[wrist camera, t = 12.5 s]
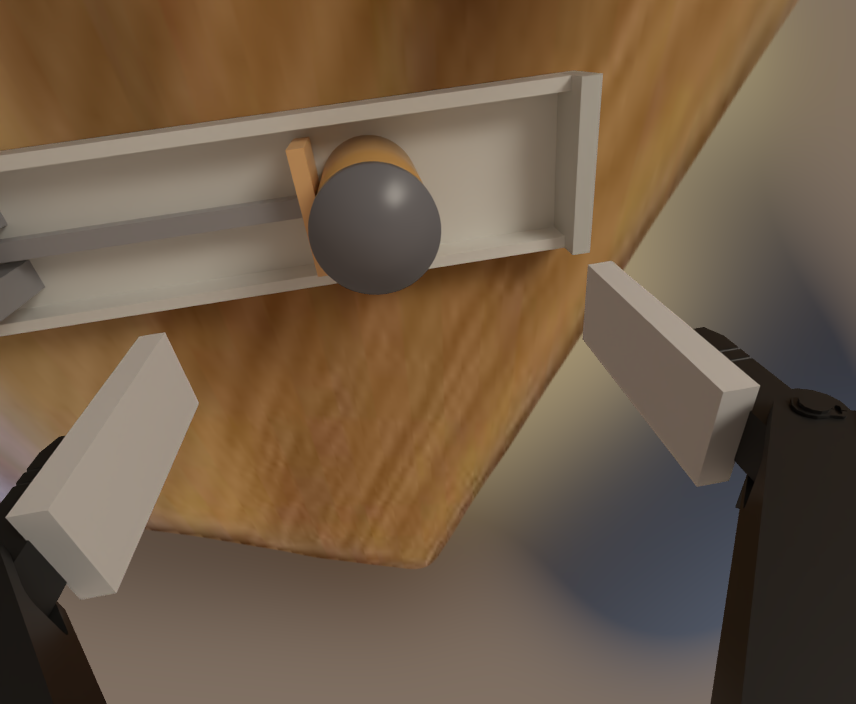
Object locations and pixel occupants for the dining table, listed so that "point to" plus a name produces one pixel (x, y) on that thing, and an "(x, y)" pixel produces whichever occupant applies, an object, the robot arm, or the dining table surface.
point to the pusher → (181, 218)
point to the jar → (373, 218)
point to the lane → (271, 178)
